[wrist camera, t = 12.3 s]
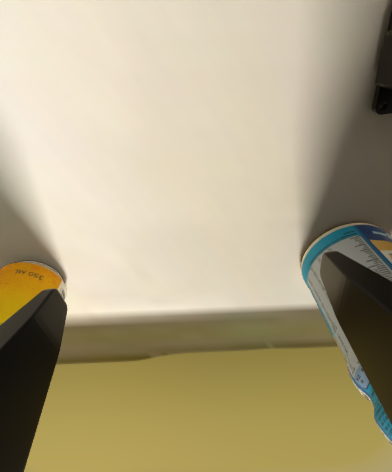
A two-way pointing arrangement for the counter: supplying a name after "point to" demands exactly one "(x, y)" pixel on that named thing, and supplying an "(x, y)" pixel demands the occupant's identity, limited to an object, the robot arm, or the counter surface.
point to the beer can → (25, 285)
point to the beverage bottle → (353, 246)
